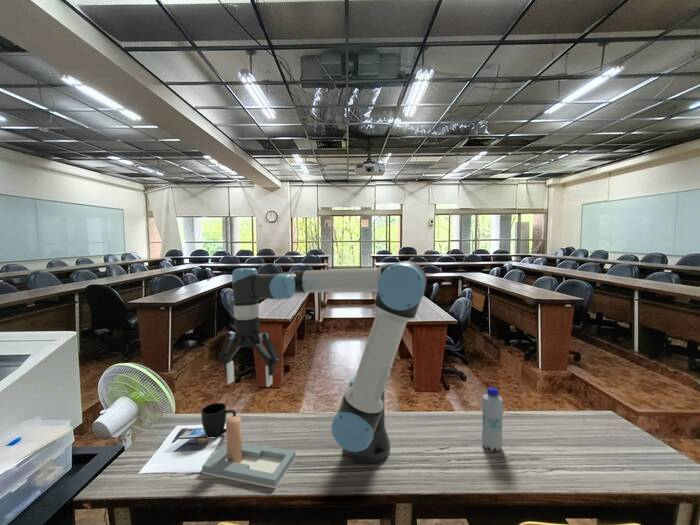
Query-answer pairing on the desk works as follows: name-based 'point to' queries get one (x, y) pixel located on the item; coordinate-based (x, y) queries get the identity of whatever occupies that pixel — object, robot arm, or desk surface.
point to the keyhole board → (252, 465)
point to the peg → (234, 439)
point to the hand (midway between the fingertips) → (249, 383)
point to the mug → (215, 419)
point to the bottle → (492, 419)
